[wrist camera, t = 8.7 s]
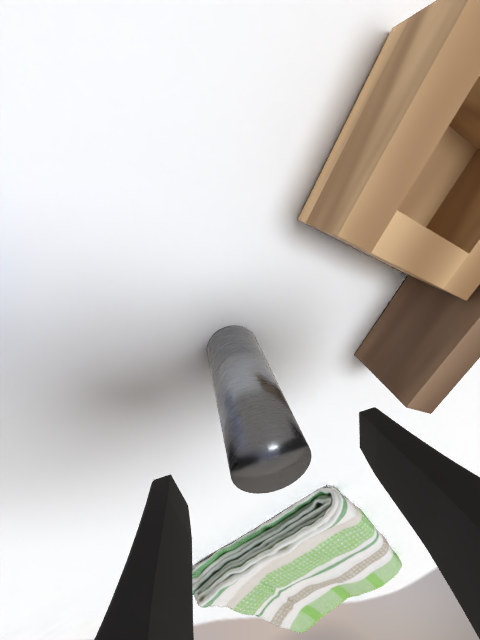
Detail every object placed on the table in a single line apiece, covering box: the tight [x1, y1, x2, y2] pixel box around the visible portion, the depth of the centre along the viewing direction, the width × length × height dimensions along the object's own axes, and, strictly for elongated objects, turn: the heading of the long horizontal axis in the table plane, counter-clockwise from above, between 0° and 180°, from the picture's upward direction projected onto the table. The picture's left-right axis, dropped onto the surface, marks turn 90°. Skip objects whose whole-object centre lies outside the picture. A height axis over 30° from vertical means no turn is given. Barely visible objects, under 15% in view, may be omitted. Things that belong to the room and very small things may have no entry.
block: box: [298, 0, 480, 301], centre depth 13 cm, size 8×8×4 cm
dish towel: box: [192, 487, 402, 633], centre depth 32 cm, size 17×23×4 cm
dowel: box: [207, 326, 311, 493], centre depth 14 cm, size 3×3×8 cm
